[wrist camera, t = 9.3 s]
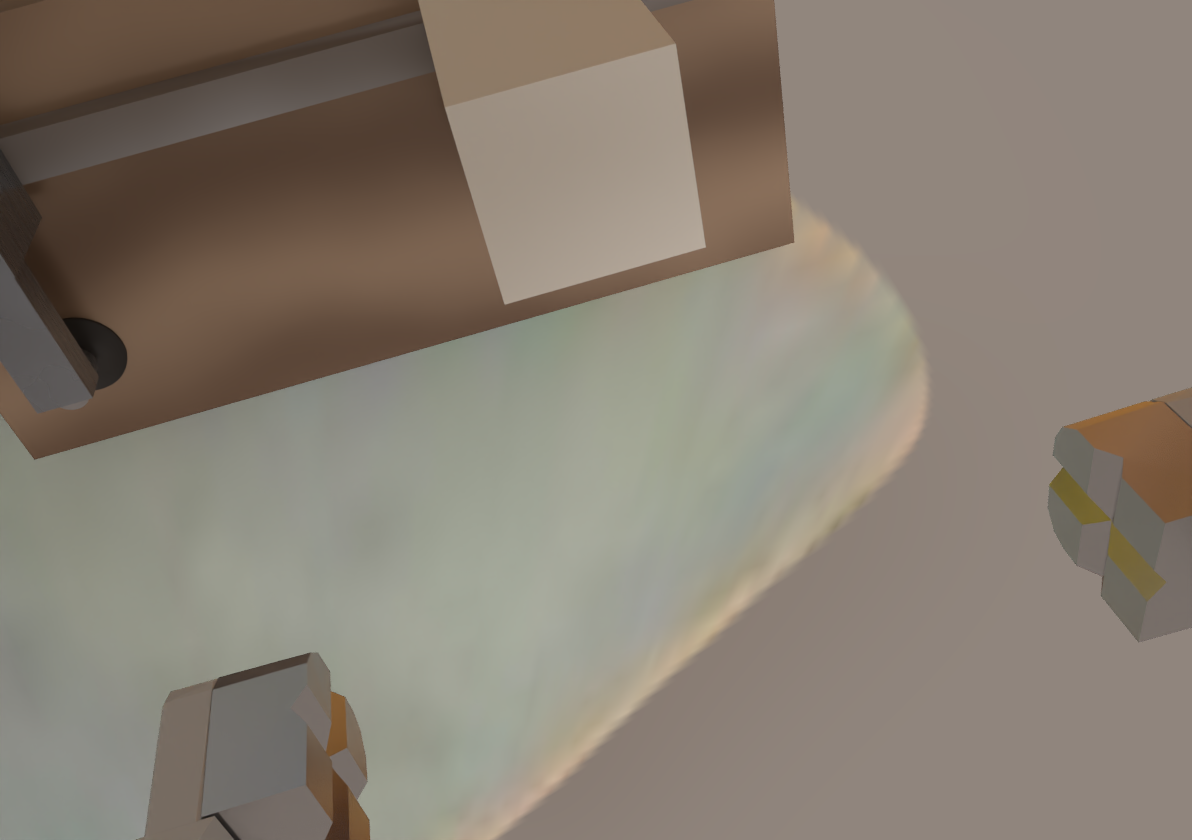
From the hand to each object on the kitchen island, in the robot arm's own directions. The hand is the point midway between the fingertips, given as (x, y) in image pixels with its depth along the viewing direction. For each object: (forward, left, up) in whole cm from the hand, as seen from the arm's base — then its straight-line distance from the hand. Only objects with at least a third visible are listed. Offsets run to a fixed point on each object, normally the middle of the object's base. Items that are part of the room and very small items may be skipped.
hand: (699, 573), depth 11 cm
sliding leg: (-2, -1, -19) cm, 19 cm away
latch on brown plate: (-3, +4, -21) cm, 22 cm away
